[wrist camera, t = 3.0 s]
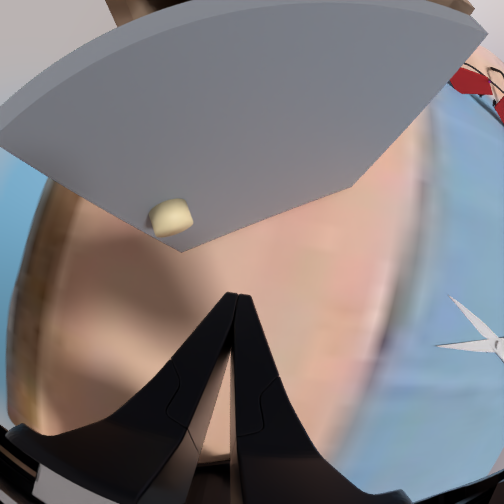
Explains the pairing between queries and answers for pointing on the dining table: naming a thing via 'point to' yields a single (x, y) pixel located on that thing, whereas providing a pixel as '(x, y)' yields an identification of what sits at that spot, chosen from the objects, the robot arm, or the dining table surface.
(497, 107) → the glasses
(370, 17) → the flap
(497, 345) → the scissors
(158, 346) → the dining table surface
